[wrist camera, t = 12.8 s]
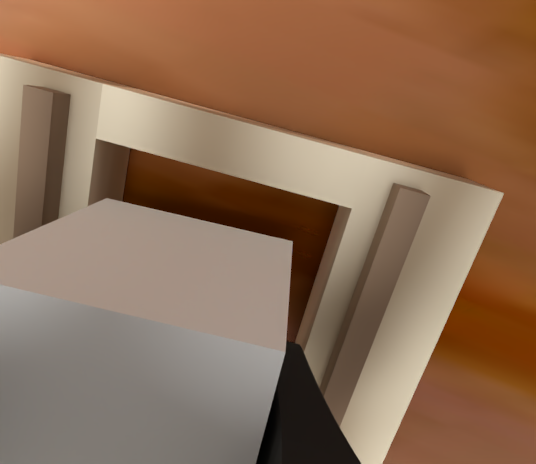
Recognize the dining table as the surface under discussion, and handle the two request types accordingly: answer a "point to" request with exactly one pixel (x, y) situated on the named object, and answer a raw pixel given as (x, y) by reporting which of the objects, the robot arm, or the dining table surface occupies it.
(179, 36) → the dining table surface
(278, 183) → the sliding lid box
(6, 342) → the grey block
